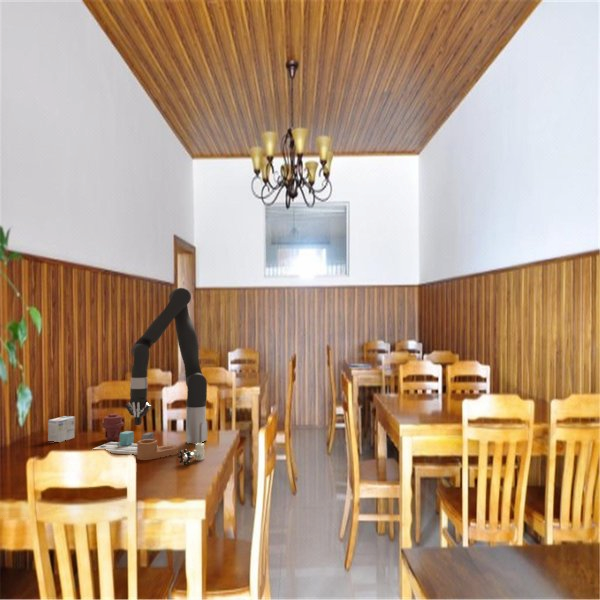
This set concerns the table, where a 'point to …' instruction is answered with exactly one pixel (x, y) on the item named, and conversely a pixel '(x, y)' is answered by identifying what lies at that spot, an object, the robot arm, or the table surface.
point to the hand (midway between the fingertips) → (137, 424)
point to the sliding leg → (126, 438)
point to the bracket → (154, 450)
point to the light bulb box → (61, 428)
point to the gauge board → (123, 449)
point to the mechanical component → (112, 426)
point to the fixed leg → (148, 436)
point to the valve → (193, 454)
